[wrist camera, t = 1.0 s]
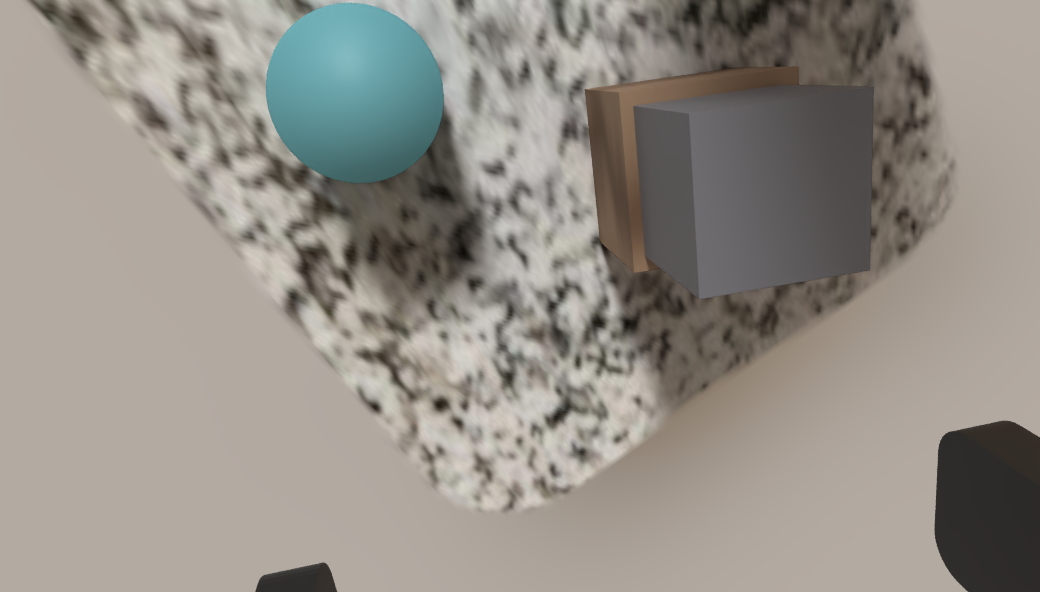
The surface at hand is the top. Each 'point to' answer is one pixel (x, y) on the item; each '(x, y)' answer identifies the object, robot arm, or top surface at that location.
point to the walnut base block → (619, 151)
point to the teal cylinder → (354, 93)
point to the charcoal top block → (757, 186)
